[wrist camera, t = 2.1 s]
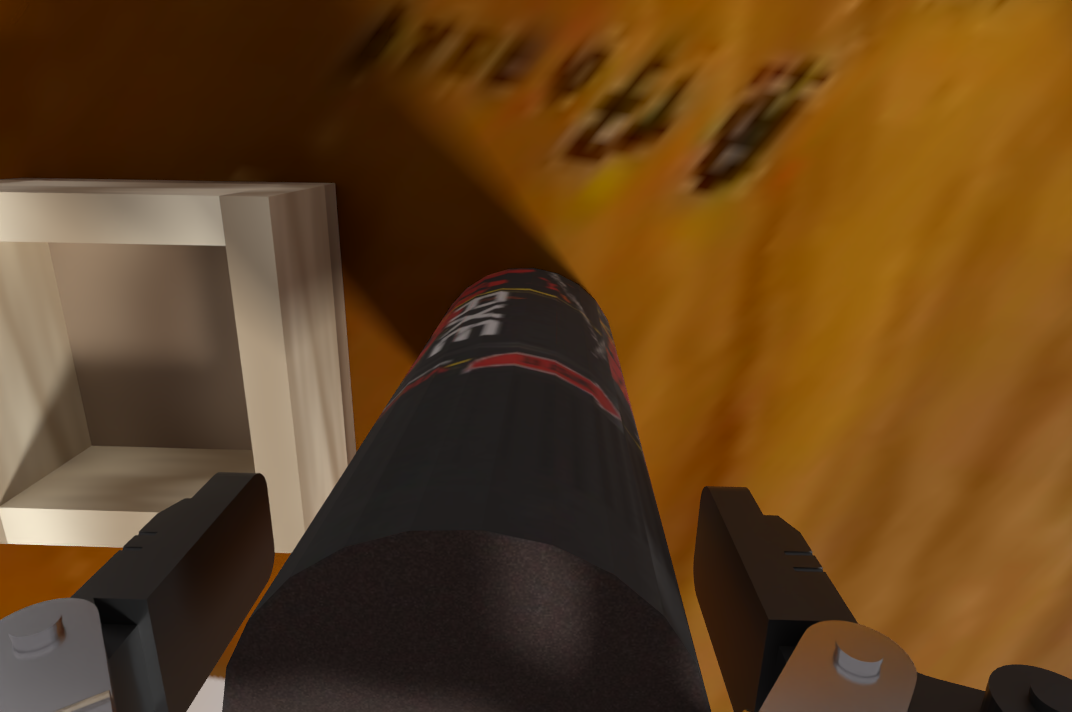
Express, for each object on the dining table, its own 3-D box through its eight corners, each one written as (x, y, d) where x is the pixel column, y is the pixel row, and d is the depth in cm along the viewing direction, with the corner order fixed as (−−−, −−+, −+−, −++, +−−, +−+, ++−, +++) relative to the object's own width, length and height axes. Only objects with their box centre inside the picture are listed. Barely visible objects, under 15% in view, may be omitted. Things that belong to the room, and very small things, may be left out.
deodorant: (515, 467, 24) (448, 968, 9) (401, 342, 22) (121, 705, 8) (650, 367, 22) (811, 776, 8) (537, 229, 21) (489, 424, 7)
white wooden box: (335, 183, 21) (268, 196, 16) (357, 470, 24) (307, 553, 19) (20, 177, 21) (-137, 189, 16) (84, 462, 24) (-33, 542, 19)
